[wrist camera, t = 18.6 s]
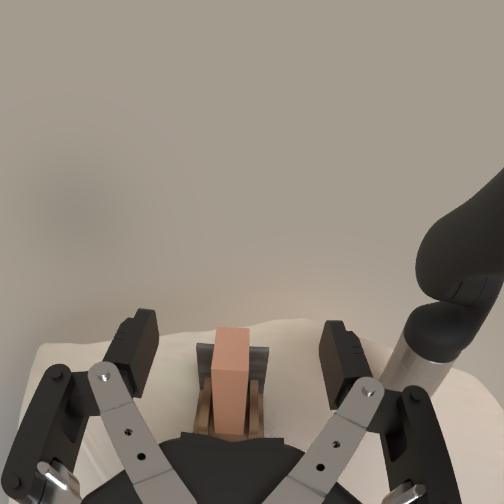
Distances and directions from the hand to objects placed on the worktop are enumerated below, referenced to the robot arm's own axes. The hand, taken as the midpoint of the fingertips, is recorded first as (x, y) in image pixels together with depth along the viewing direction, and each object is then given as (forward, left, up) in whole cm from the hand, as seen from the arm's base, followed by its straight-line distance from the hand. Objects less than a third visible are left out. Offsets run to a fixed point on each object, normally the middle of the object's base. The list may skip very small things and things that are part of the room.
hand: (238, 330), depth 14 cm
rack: (-8, -12, -32) cm, 35 cm away
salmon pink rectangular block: (-8, -11, -30) cm, 34 cm away
